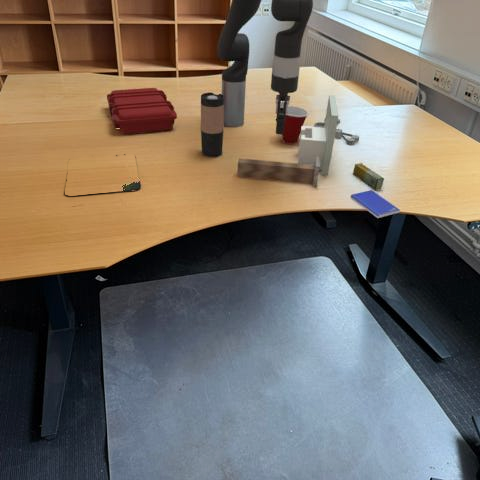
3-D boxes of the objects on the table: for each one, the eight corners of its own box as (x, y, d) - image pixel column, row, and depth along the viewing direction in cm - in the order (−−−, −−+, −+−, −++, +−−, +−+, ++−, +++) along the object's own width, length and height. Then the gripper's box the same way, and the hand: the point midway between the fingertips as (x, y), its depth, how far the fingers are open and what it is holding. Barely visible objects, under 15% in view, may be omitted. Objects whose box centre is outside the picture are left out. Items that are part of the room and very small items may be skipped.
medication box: (381, 189, 138) (385, 178, 135) (375, 191, 137) (378, 179, 134) (358, 173, 147) (361, 162, 144) (351, 174, 146) (354, 163, 143)
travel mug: (206, 159, 150) (206, 100, 138) (197, 150, 155) (196, 93, 144) (226, 155, 153) (228, 98, 141) (217, 147, 158) (218, 91, 147)
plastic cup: (307, 146, 162) (312, 115, 155) (278, 146, 161) (281, 114, 154) (302, 135, 170) (306, 104, 163) (274, 135, 170) (277, 104, 163)
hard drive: (400, 209, 126) (372, 189, 135) (378, 215, 123) (350, 194, 132) (399, 213, 127) (371, 194, 136) (377, 219, 124) (349, 199, 133)
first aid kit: (179, 132, 169) (178, 110, 164) (117, 137, 162) (114, 115, 157) (162, 104, 193) (161, 84, 188) (107, 108, 186) (104, 88, 181)
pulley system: (324, 149, 163) (362, 145, 165) (325, 136, 161) (364, 133, 163) (302, 124, 186) (336, 121, 188) (302, 113, 183) (337, 110, 185)
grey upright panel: (297, 172, 144) (305, 113, 133) (298, 148, 161) (305, 92, 149) (327, 175, 144) (338, 115, 132) (325, 150, 160) (335, 95, 148)
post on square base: (236, 179, 139) (237, 159, 135) (239, 169, 145) (240, 149, 141) (316, 187, 137) (319, 166, 133) (316, 176, 143) (319, 156, 139)
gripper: (273, 65, 128) (269, 119, 137) (270, 78, 116) (265, 136, 126) (299, 67, 127) (293, 121, 137) (298, 80, 116) (291, 139, 125)
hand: (280, 128), depth 131 cm, fingers open, 8 cm apart
